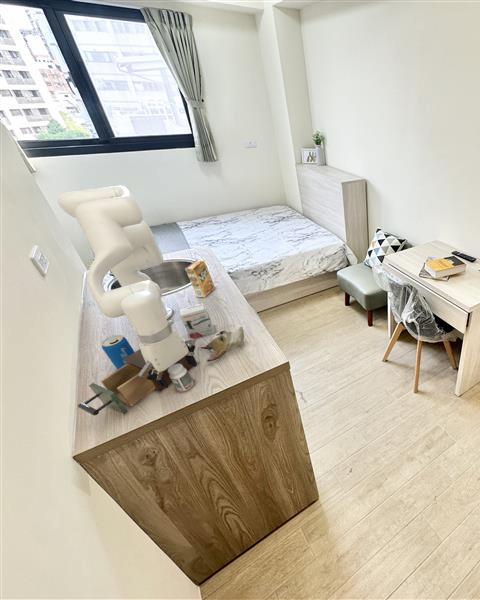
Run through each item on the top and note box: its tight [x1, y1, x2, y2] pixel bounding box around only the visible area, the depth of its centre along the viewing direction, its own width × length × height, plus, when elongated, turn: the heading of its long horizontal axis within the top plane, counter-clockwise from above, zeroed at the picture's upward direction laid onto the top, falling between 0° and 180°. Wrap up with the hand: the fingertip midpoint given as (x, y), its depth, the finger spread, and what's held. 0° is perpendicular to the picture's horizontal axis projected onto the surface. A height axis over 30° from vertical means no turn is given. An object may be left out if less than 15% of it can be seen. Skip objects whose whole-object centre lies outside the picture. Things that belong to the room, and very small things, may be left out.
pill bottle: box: [168, 364, 194, 392], centre depth 101 cm, size 5×5×8 cm
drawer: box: [77, 363, 156, 416], centre depth 95 cm, size 17×10×8 cm, turn 158°
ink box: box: [178, 302, 216, 340], centre depth 123 cm, size 8×5×12 cm, turn 123°
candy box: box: [184, 259, 216, 298], centre depth 147 cm, size 9×4×15 cm, turn 178°
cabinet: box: [123, 344, 198, 393], centre depth 105 cm, size 14×11×10 cm
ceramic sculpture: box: [200, 326, 245, 363], centre depth 115 cm, size 11×9×15 cm
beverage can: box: [101, 334, 136, 370], centre depth 107 cm, size 6×6×12 cm
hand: (179, 375), depth 100 cm, fingers open, 9 cm apart
